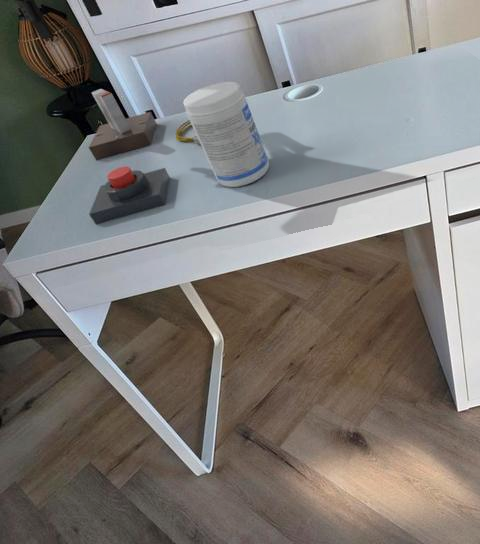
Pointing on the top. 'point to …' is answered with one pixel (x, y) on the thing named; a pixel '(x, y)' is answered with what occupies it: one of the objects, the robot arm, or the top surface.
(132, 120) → the base
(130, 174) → the red button
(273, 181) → the top surface
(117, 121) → the tap lever
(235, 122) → the supplement tub
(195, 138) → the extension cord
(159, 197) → the button block
